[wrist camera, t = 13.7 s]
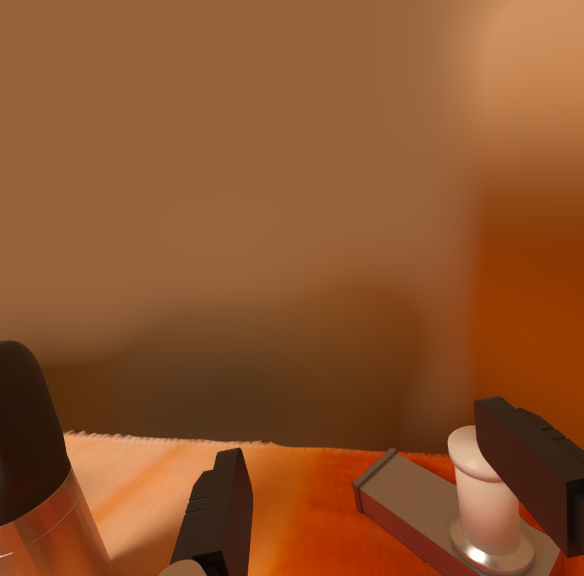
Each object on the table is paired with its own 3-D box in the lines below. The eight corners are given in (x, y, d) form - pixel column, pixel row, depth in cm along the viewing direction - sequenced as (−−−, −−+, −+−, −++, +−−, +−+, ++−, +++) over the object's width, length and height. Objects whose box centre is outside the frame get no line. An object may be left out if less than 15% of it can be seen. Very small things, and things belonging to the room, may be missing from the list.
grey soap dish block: (357, 510, 45) (351, 477, 44) (395, 472, 50) (391, 442, 49) (532, 648, 29) (530, 603, 28) (564, 573, 34) (563, 532, 33)
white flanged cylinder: (445, 531, 35) (435, 449, 33) (473, 494, 38) (466, 418, 36) (510, 575, 30) (504, 482, 28) (535, 528, 33) (532, 442, 31)
